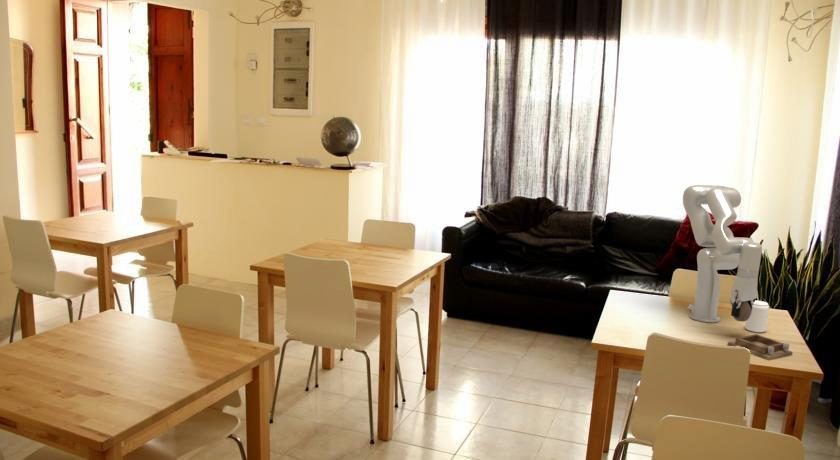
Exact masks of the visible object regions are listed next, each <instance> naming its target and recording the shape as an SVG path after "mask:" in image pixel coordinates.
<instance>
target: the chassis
mask: <svg viewBox="0 0 840 460" xmlns="http://www.w3.org/2000/svg"><path fill="white" fill-rule="evenodd" d="M726 345H727V346H729V345H730V346H729V347H731V346H740V347H745V348H747V349H749V350H750V352H751V353H750V354H751V355H754V356H756V357H759V358H762V359H765V360H768V361H771V360H776V359H779V358H785V357H789V356H792V355H793V353H794V352H793V351H791V350H789V348H790V344H789V343H787V342H781V341H778V340H775V339H773V338H770V337H767V336H763V335H761V334H757V333H754V334H749V335H745V336H739V337H736V338H735V340H731V341H727V344H726Z"/></svg>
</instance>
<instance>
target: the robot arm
mask: <svg viewBox="0 0 840 460" xmlns="http://www.w3.org/2000/svg"><path fill="white" fill-rule="evenodd" d="M741 202H742V196H741V194H740V191H739V190H738V189H736V188H733V187H730V186H729V187H728V186H724V185H716V184H715V185H709V184H708V185H705V184H702V185H700V184H697V185H696V184H695V185H690V186H688V187H687V188H686V189H684V191H683V194H682V205H683V208H684V211H685V213H686V214H687V216H688V218H689V221H690V225H691V229H692V233H693V235H694V239H695V242H696V244H697V245H698V246H699V247H705V248H702V249H700V250H699V251H698V252H697V255H696V261H697V262H696V263H697V277H696V286H695V287H696V288H695V295H694V302H693V303H694V304H689V305H688V306H687V310H691V312H689V314H688V315H689V316H688V317H689V318H690V319H692V320H695V321H697V322H703V323H710V324H711V323H719V322H720V321H721V317H720V316H719V315H718V307H719V299H720V291H721V282H722V281H721V277H720V275H719V273H718V271H720V270H722V271H723V270H724V271H725V270H734V269H736V268H737V272H736V276H735V278H734V281H733V284H732V288H731V292H730V296H729V297H730V298H729V299H728V300H729V301H730V305H731V311H730V312H731V313H730V315H731V317H733V316H734V317H736V318H738V317H739V312H740V308H739V307H740V304H741V302H744V301H747V302H748V304H749V305H750V308H751V312H752V306H753V305H754V302H755V300H756V299H758V296H759V294H758V293H757V292H758V278H759V272H760V265H761V259H762V252H763V246H762V244H760V243H758V242H755V241H754V240H752V239H751V238H749V237H737V236H736V237H735V236H734V233H733V232H732V230H731V229H730V227H729V226H730V225H732V224H733V223H734V222H735V221H736V220H737V213H736V211H735V208H737V207H739V206H740V205H741ZM702 205H707V207H708V208H709V211H710V213H711V214H712V217H713V219H714V224H713V221H712V218H711V215H710V213H709V212H708V211H707V209H706V208H704V206H702ZM737 302H738V304H737ZM734 317H733V318H734Z"/></svg>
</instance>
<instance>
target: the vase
mask: <svg viewBox="0 0 840 460" xmlns="http://www.w3.org/2000/svg"><path fill="white" fill-rule="evenodd" d="M736 303H737V304H738V302H737V301H736ZM739 308H740V312H739V317H738V318H736V317H734V316H732V317H733V319H734V320H735V321H738V322H746V320H748V319H749V317H750V315H751V308H750V305H749V304H748V302H747V301H744V302H741V304H740V307H739Z"/></svg>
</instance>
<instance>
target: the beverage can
mask: <svg viewBox="0 0 840 460" xmlns="http://www.w3.org/2000/svg"><path fill="white" fill-rule="evenodd" d="M769 310H770V306H769V303H768V302H766V301H762V300H758V299H757V300H755V302H754V305H753V306H752V312H751V315H750V317H749V319H748V320H746V321H744V322H745V324H744V328H745V329H746V330H747V331H749V332H753V333H759V334H760V333H765V332H767V327H768V318H769Z"/></svg>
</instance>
